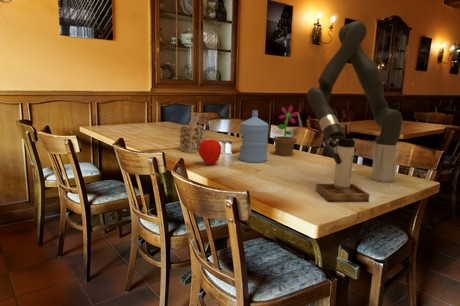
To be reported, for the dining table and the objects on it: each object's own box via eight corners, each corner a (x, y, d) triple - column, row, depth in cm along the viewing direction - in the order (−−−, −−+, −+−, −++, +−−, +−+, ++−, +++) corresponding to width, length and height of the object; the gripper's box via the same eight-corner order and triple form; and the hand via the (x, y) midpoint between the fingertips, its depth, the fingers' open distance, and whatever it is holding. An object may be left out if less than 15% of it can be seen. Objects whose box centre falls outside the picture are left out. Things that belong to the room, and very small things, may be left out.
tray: (352, 190, 150) (353, 183, 150) (368, 201, 137) (369, 194, 136) (315, 190, 149) (316, 183, 148) (328, 201, 135) (329, 194, 134)
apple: (194, 164, 186) (194, 139, 184) (206, 160, 197) (206, 136, 194) (213, 168, 181) (214, 142, 178) (224, 163, 191) (225, 139, 189)
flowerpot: (298, 154, 223) (302, 105, 217) (291, 158, 211) (294, 107, 205) (276, 151, 230) (279, 104, 224) (268, 155, 217) (271, 105, 211)
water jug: (271, 159, 204) (274, 110, 199) (258, 164, 192) (260, 112, 186) (248, 155, 213) (250, 108, 207) (233, 160, 200) (235, 110, 195)
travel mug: (330, 184, 145) (335, 135, 141) (346, 184, 145) (351, 136, 141) (335, 189, 139) (341, 138, 134) (352, 189, 139) (358, 139, 135)
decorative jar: (179, 150, 223) (179, 121, 219) (194, 148, 230) (194, 120, 227) (190, 153, 214) (190, 123, 210) (205, 151, 222) (206, 122, 218)
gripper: (320, 122, 141) (336, 158, 133) (350, 122, 146) (367, 157, 138) (312, 134, 147) (326, 168, 139) (340, 133, 152) (356, 167, 144)
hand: (346, 162), depth 138 cm, fingers closed on travel mug, 6 cm apart
